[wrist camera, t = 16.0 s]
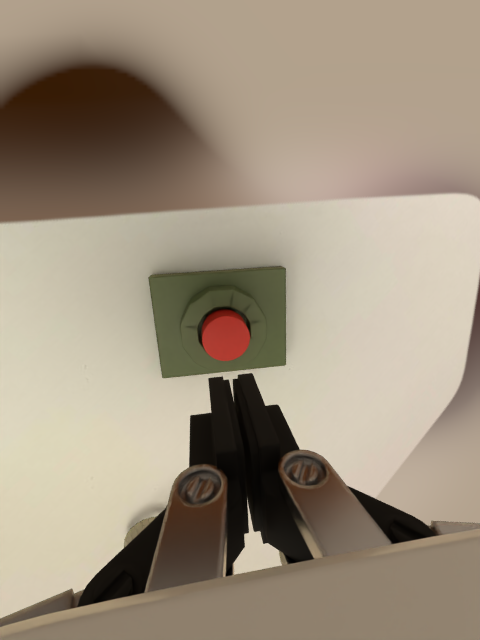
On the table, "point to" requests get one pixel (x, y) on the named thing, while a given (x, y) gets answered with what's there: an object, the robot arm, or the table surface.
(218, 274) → the button box
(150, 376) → the table surface
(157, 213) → the table surface
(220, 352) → the button
